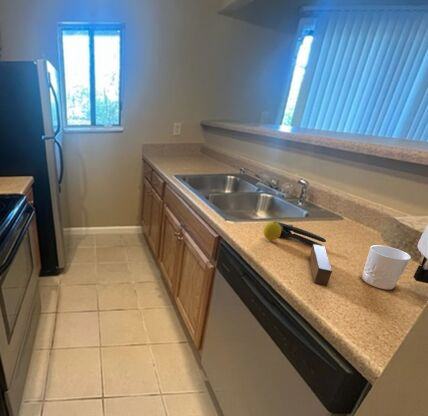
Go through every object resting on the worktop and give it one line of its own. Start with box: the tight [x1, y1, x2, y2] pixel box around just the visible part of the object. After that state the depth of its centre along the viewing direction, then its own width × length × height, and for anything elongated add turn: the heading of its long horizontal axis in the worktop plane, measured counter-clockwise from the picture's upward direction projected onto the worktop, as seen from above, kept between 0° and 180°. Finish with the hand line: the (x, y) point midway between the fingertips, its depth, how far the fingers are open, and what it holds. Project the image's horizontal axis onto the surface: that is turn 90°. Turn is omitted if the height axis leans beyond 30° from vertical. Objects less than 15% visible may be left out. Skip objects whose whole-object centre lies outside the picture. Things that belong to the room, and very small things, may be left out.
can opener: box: [276, 221, 327, 246], centre depth 102 cm, size 18×7×6 cm, turn 39°
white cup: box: [361, 244, 412, 290], centre depth 77 cm, size 8×8×10 cm
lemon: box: [263, 220, 281, 242], centre depth 101 cm, size 6×6×8 cm
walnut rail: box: [308, 244, 333, 287], centre depth 84 cm, size 3×16×5 cm, turn 149°
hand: (422, 280), depth 73 cm, fingers closed
